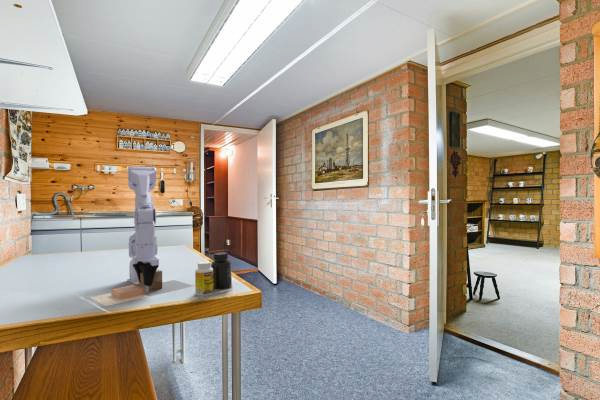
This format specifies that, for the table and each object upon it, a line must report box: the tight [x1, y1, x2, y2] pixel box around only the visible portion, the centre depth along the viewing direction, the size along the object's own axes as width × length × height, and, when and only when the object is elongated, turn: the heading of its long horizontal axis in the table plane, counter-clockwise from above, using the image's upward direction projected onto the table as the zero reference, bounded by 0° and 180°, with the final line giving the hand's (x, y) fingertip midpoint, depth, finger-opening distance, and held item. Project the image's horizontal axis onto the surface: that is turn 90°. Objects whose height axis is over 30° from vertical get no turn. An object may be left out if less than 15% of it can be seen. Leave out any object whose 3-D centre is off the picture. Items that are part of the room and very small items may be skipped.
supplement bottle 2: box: [211, 251, 233, 290], centre depth 110 cm, size 7×7×12 cm
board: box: [89, 279, 194, 307], centre depth 106 cm, size 14×28×1 cm, turn 140°
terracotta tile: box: [110, 284, 144, 300], centre depth 102 cm, size 7×7×2 cm
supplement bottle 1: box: [194, 260, 214, 297], centre depth 103 cm, size 6×6×10 cm
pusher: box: [132, 269, 163, 295], centre depth 107 cm, size 7×9×6 cm
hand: (145, 284), depth 106 cm, fingers closed on pusher, 3 cm apart
